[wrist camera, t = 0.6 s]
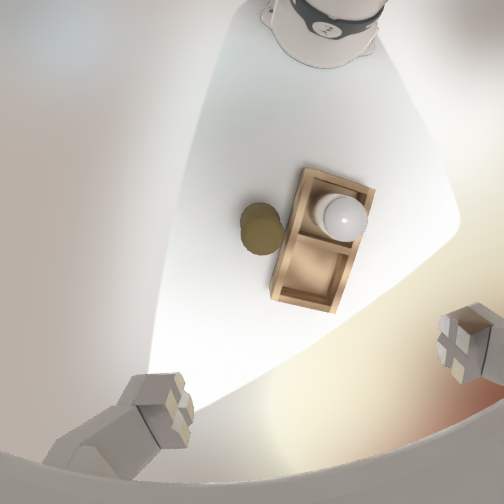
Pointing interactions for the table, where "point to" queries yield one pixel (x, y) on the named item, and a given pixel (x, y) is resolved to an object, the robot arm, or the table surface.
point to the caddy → (315, 248)
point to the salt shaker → (338, 216)
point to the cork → (261, 229)
